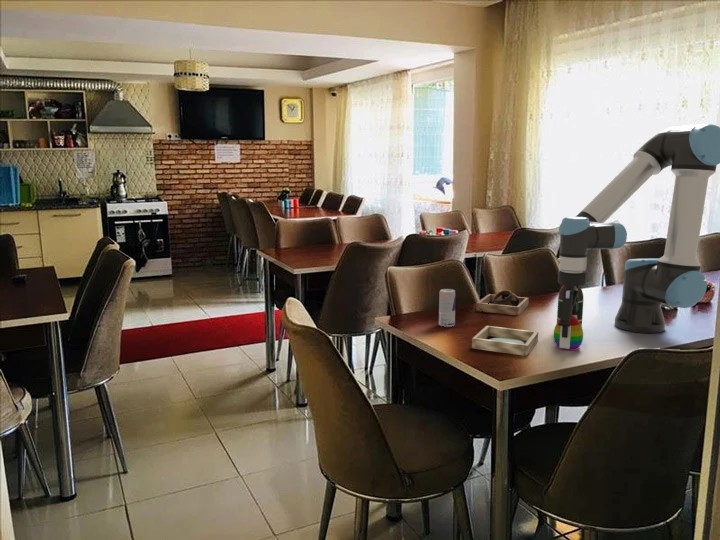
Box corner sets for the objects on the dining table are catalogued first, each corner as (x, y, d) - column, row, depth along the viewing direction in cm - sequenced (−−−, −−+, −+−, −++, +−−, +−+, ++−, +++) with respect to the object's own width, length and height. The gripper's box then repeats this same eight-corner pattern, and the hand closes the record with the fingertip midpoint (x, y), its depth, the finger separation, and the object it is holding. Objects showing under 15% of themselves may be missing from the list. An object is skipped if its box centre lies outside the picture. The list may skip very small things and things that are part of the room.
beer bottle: (578, 337, 185) (583, 261, 181) (553, 333, 189) (557, 259, 185) (583, 331, 192) (588, 258, 188) (559, 328, 196) (563, 256, 192)
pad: (527, 342, 180) (527, 340, 180) (520, 352, 170) (520, 350, 170) (492, 337, 185) (492, 335, 185) (482, 347, 175) (482, 345, 175)
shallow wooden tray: (537, 341, 181) (538, 331, 181) (527, 355, 167) (527, 345, 167) (486, 334, 188) (486, 325, 188) (471, 348, 174) (472, 338, 174)
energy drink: (456, 324, 201) (457, 289, 199) (452, 328, 196) (453, 292, 194) (441, 322, 203) (442, 288, 201) (436, 326, 198) (437, 291, 196)
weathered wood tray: (528, 305, 228) (528, 297, 228) (518, 315, 213) (518, 307, 212) (488, 301, 235) (488, 293, 234) (476, 310, 220) (476, 302, 219)
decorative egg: (549, 343, 179) (550, 311, 177) (575, 343, 179) (577, 311, 177) (558, 352, 171) (560, 318, 169) (586, 351, 171) (589, 317, 169)
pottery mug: (525, 313, 218) (516, 295, 215) (501, 323, 220) (492, 305, 217) (518, 298, 229) (510, 281, 226) (495, 308, 231) (487, 291, 228)
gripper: (564, 263, 184) (561, 329, 187) (551, 276, 162) (547, 351, 165) (590, 265, 180) (586, 332, 184) (580, 279, 158) (575, 355, 162)
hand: (567, 341), depth 175 cm, fingers open, 13 cm apart
